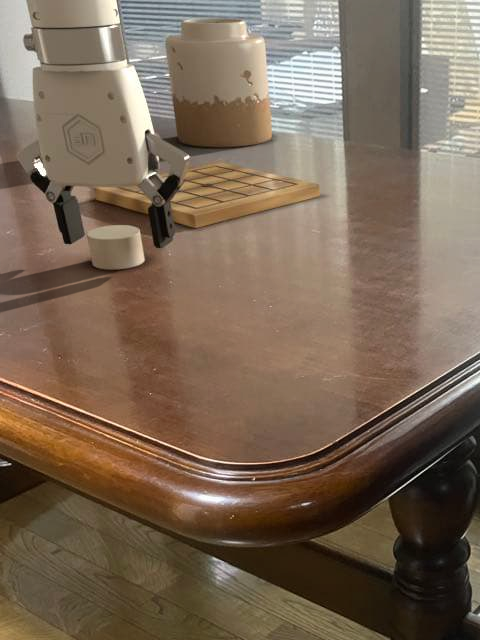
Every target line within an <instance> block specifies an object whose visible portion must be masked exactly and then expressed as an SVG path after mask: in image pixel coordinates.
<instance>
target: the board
mask: <svg viewBox="0 0 480 640" xmlns="http://www.w3.org/2000/svg"><path fill="white" fill-rule="evenodd" d="M169 173H170V172H169V171H168V172H163V173H162V172H161V173H158V174H159V175H160V176H161V177H162V178H163V179H164V180H166V179H167V177H168V176H169ZM320 189H321V187H320V184H319V183H315V182H311V181H306V180H302V179H298V178H294V177H293V178H292V177H288V176H283V175H279V174H274V173H270V172H265V171H261V170H257V169H252V168H248V167H247V168H246V167H244V166H243V167H242V166H238V165H233V164H229V163H228V164H227V163H223V162H219V161H217V162H212V163H206V164H201V165H197V166H193V167H192V166H191V167H188V169H187V173H186V175H185V177H184V183H183V185H182V186H181V187H180V189H179V190H178V191H177V193H176V194H175V195H174V198H173V199H172V200H170V202H171V208H172V215H173V221H174V223H176V224H180V225H183V226H186V227H190V228H194V229H198V228H202V227H206V226H210V225H214V224H218V223H221V222H225V221H230V220H234V219H237V218H242V217H246V216H248V215H253V214H256V213H260V212H264V211H268V210H272V209H276V208H280V207H284V206H287V205H291V204H295V203H299V202H304V201H307V200H311V199H314V198H318V197H320V196H321V190H320ZM93 194H94V198H95V200H96V201H99V202H103V203H107V204H110V205H113V206H116V207H121V208H124V209H127V210H131V211H134V212H138V213H141V214H145V215H148V216H149V214H148V208H149V207H150V206H151V205H152V202H151V201H150V200H149V199H148V197H147V196H146V195H145V194H144V193H143V192H142V191H141V190H140V189H139V188H138V186H137V185H136V186H134V187H125V188H124V187H93Z"/></svg>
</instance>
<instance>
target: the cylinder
mask: <svg viewBox="0 0 480 640" xmlns="http://www.w3.org/2000/svg"><path fill="white" fill-rule="evenodd" d="M85 236H86V240H87V245H88V251H89V255H90V260H91V264H92V266H93V267H94V268H97V269H100V270H108V271H109V270H110V271H113V270H114V271H115V270H117V271H118V270H127V269H130V268H134V267H137V266H141V265H142V264H143V263H144V262H145V261H146V259H145V253H144V251H145V250H144V246H143V239H142V234H141V230H140V228H139V227H136V226H132V225H126V224H114V225H113V224H112V225H104V226H99V227H95V228H92V229H89V230H88V231H87V232H86V233H85Z"/></svg>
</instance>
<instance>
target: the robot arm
mask: <svg viewBox="0 0 480 640" xmlns="http://www.w3.org/2000/svg"><path fill="white" fill-rule="evenodd" d="M25 1H26V6H27V10H28V14H29V20H30V24H31V27H30V30H31V33H25V34H24V35H23V37H22V42H23V46H24V48H25V50H26V51H28V52H34V53H35V54H36V57H37V60H38V61H39V66H36V67H33V68H32V98H33V100H32V101H33V110H34V118H35V126H36V133H37V138H36V139H35V140H33V141H32V142H30V143H29V144H27V145H26V146H25V147H23V148H22V149H21V150H19V151H18V152H17V153H16V158H17V160H18V162H19V163H20V164H21V166H22V167H23V169H24V170H25V172H26V173H27V174H28V175H29V178H30V181H31V182H32V184H33V185H34V186H36V188H38V189H39V191H41V193H43V194H44V197H45V199H46V201H47V202H49V203H51V204H52V205H53V209H54V214H55V218H56V219H55V220H56V222H57V227H58V231H59V232H60V234H61V236H62V237H61V238H62V242H63V244H64V245H72V244H75V243H76V242H77V241H79V240H81V239H82V238H84V237H85V236H86V232H85V228H84V224H83V223H84V222H83V219H82V214H81V209H80V204H79V200H78V198H77V196H76V195H72V194H71V193H72V191H73V190H74V187H88V188H90V187H91V188H94V187H124V188H125V187H134V186H136V185H137V186H138V188H139V189H140V190H141V191H142V192H143V193H144V194H145V195H146V196H147V197H148V199H149V200H150V201H151V202H152V205H151V206H150V207H149V208H148V214H149V215H148V214H147V215H148V218H149V224H150V225H149V226H150V229H151V230H150V231H151V236H152V240H153V241H152V243H153V246H154V247H155V248H156V249H163V248H165V247H166V246H167V245H169V244H170V243H172V242H173V240H174V236H175V235H176V234H175V233H176V229H175V222H174V221H173V215H172V208H171V202H170V200H172V199H173V198H174V195H175V194H176V193H177V191H178V190H179V189H180V187H181V186H182V185H183V183H184V177H185V175H186V173H187V169H188V168H189V166H190V163H191V156H190V155H189V154H188V153H187V152H186V151H183V150H182V149H180V148H179V147H176V146H175V145H173V144H171V143H169V142H168V141H166V140H164V139H162V138H161V137H160V138H161V139H160V138H159V137H157V136H155V135H154V131H155V130H154V126H153V122H152V118H151V114H150V109H149V107H148V103H147V99H146V96H145V93H144V90H143V87H142V84H141V81H140V79H139V75H138V73H137V71H136V68H135V65H134V64H129V63H128V59H127V54H126V53H127V52H126V48H125V41H124V37H123V31H122V25H121V20H120V14H119V13H120V12H119V7H118V1H117V0H25ZM160 159H161V160H163V161H165V162H167V163H168V165H169V170H168V172H170V173H169V176H168V177H167V179H166V180H164V179H163V178H162V177H161V176H160V175H159V174H160V173H159V172H160ZM41 160H42V161H41Z"/></svg>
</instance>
